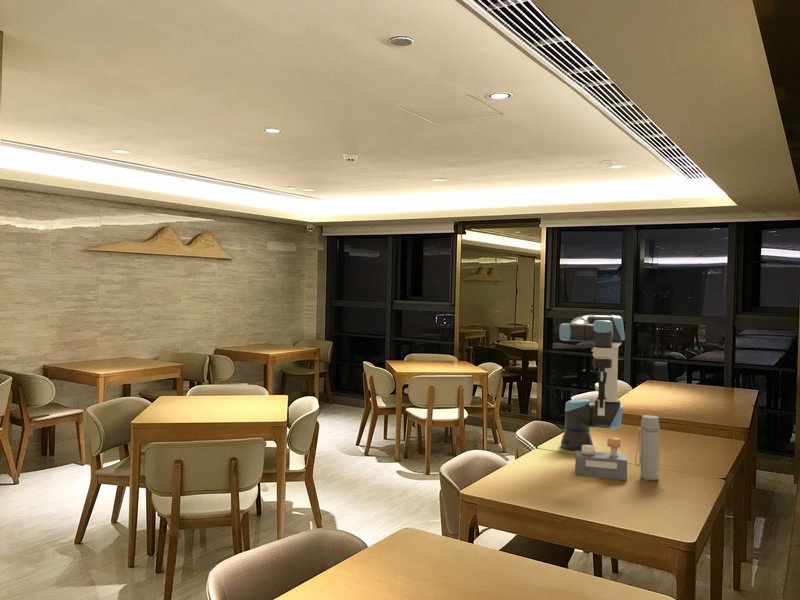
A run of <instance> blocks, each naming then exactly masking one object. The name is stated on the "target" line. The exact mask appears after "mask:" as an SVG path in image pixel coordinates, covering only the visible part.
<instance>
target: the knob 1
mask: <svg viewBox="0 0 800 600" xmlns="http://www.w3.org/2000/svg"><path fill="white" fill-rule="evenodd" d="M595 452H596V446H595V445H594V444H593V445H582V454H585V455H594V454H595Z"/></svg>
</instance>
